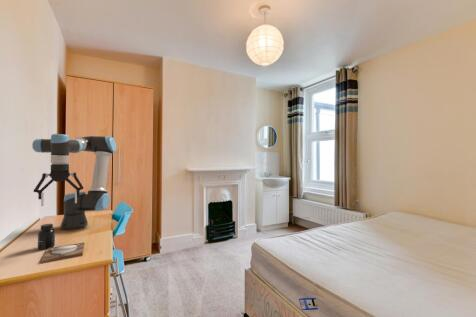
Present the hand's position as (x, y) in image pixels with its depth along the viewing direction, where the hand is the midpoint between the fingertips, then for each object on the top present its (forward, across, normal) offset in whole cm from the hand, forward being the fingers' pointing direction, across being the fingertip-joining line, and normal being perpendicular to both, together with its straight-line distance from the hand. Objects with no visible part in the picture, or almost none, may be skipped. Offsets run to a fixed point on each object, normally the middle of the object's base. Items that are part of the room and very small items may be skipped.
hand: (59, 204), depth 116 cm
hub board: (+22, +3, -11) cm, 25 cm away
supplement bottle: (+23, -6, +3) cm, 24 cm away
